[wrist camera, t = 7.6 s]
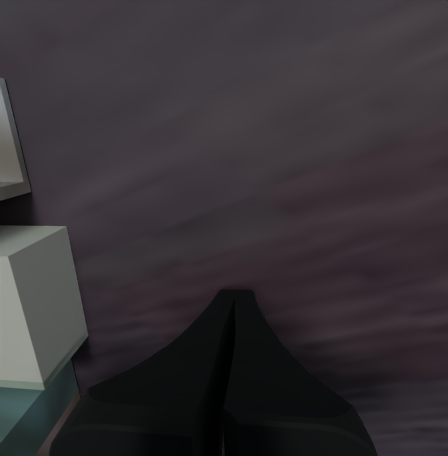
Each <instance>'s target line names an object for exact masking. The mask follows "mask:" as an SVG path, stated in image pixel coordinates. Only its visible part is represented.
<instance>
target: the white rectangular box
mask: <svg viewBox="0 0 448 456" xmlns="http://www.w3.org/2000/svg"><path fill="white" fill-rule="evenodd" d="M87 337H88V332H87V327H86V322H85V317H84V312H83V307H82V302H81V297H80V292H79V287H78V282H77V277H76V272H75V267H74V262H73V257H72V252H71V247H70V242H69V237H68V232H67V227H66V226H11V225H0V387H7V388H21V389H35V390H46V388H47V387H48V386H49V385H50V383H51V382H52V381H53V380H54V378H55V377H56V376H57V375H58V373H59V372H60V371H61V370H62V368H63V367H64V366H65V365H66V363H67V362H68V361H69V360H70V358H71V357H72V356H73V355H74V353H75V352H76V351H77V350H78V348H79V347H80V346H81V345H82V343H83V342H84V341H85V340H86V338H87Z"/></svg>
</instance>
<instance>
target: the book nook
mask: <svg viewBox="0 0 448 456" xmlns="http://www.w3.org/2000/svg"><path fill="white" fill-rule="evenodd" d="M29 192H31V188H30V184H29V180H28V176H27V171H26V167H25V163H24V159H23V155H22V150H21V146H20V142H19V138H18V134H17V129H16V125H15V121H14V117H13V113H12V108H11V104H10V100H9V96H8V92H7V87H6V83H5V79H3V78H0V201H1V200H5V199H8V198H12V197H15V196H19V195H22V194H26V193H29ZM80 399H81V398H80V394H79V390H78V386H77V382H76V377H75V373H74V369H73V365H72V361H71V358H70V360H69V361H68V362H67V363H66V365H65V366H64V367H63V368H62V370H61V371H60V372H59V373H58V375H57V376H56V377H55V378H54V380H53V381H52V382H51V383H50V385H49V386H48V387H47V388H46V390H35V389H21V388H7V387H0V456H49V450H50V446H51V442H52V441H53V439H54V438H55V436H56V435H57V433H58V432H59V430H60V428H61V427H62V425H63V424H64V422H65V421H66V419H67V418H68V416H69V414H70V413H71V411H72V410H73V408H74V407H75V405H76V404H77V402H78V401H79V400H80Z"/></svg>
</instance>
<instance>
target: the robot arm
mask: <svg viewBox="0 0 448 456" xmlns="http://www.w3.org/2000/svg"><path fill="white" fill-rule="evenodd" d="M223 431H224V447H225V456H378V455H377V452H376V449H375V447H374V445H373V442H372V440H371V438H370V436H369V434H368V432H367V430H366V428H365V426H364V424H363V422H362V421H361V419H360V417H359V415H358V413H357V412H356V410H355V408H354V407H353V406H352V405H351V404H350V403H348V402H347V401H345V400H344V399H343V398H341V397H340V396H338V395H337V394H335V393H334V392H332V391H331V390H330V389H328V388H327V387H325V386H324V385H323V384H322V383H320V382H319V381H318V380H317V379H316V378H314V377H313V376H312V375H311V374H310V373H309V372H308V371H306V370H305V369H304V368H303V367H302V366H301V365H300V364H299V363H298V362H297V361H296V360H295V359H294V358H293V357H292V356H291V354H290V353H289V352H288V351H287V350H286V349H285V347H284V346H283V345H282V344H281V342H280V341H279V340H278V338H277V337H276V336H275V334H274V333H273V331H272V330H271V328H270V327H269V325H268V324H267V322H266V320H265V318H264V317H263V315H262V313H261V311H260V309H259V307H258V304H257V302H256V299H255V296H254V293H253V292H252V291H251V290H220V291H219V292H218V294H217V295H216V296H215V298H214V299H213V300H212V302H211V303H210V304H209V306H208V307H207V308H206V309H205V310H204V311H203V313H202V314H201V315H200V316H199V317H198V318H197V319H196V320H195V321H194V322H193V323H192V324H191V325H190V326H189V327H188V329H187V330H185V331H184V332H183V333H182V334H181V335H180V336H179V337H178V338H176V339H175V340H174V341H173V342H172V343H170V344H169V345H168V346H166V347H165V348H163V349H162V350H160V351H159V352H157V353H156V354H154V355H153V356H151V357H150V358H148V359H147V360H145V361H143V362H142V363H140V364H138V365H136V366H135V367H133V368H131V369H129V370H127V371H125V372H123V373H121V374H119V375H117V376H115V377H113V378H110V379H108V380H106V381H104V382H101V383H99V384H97V385H95V386H92V387H90V388H88V389H87V391H86V392H85V393H84V395H83V396H82V397H81V399H80V400H79V401H78V402H77V404H76V405H75V407H74V408H73V410H72V411H71V413H70V414H69V416H68V418H67V419H66V421H65V422H64V424H63V425H62V427H61V428H60V430H59V432H58V433H57V435H56V436H55V438H54V439H53V441H52V442H51V446H50V450H49V456H221V455H222V443H223Z"/></svg>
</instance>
